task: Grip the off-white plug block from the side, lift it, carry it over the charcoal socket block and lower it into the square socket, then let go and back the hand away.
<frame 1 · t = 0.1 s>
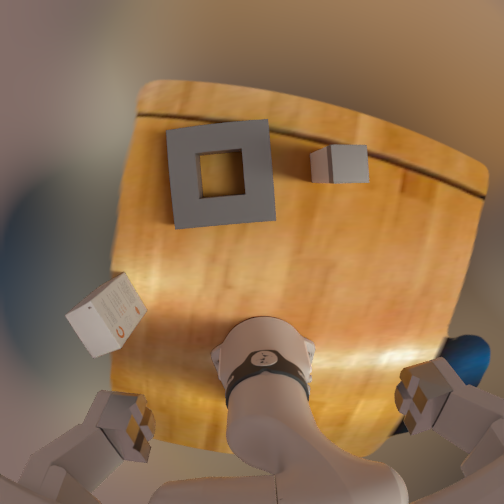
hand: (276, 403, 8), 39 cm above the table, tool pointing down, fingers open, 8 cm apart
plug: (325, 167, 44), on the table
socket block: (222, 174, 44), on the table
small box: (123, 297, 49), on the table
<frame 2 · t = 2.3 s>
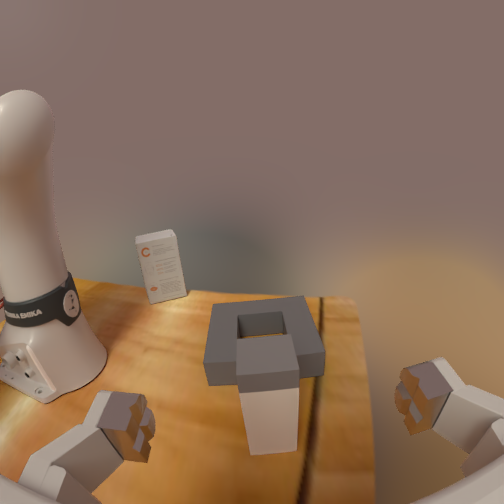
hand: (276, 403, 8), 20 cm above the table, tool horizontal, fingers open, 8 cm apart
plug: (272, 436, 26), on the table
socket block: (262, 347, 41), on the table
small box: (166, 295, 60), on the table
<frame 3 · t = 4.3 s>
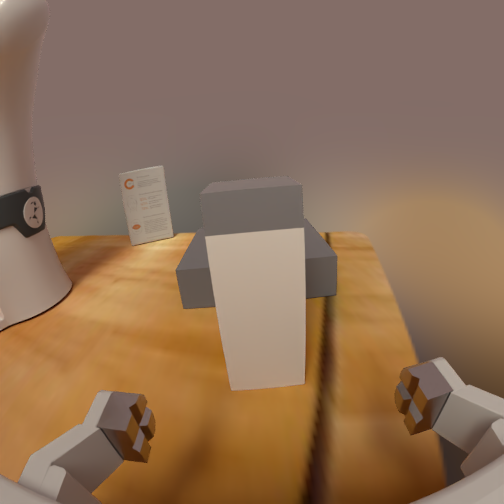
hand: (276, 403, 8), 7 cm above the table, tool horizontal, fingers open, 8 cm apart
plug: (265, 364, 19), on the table
socket block: (257, 271, 34), on the table
small box: (152, 238, 53), on the table
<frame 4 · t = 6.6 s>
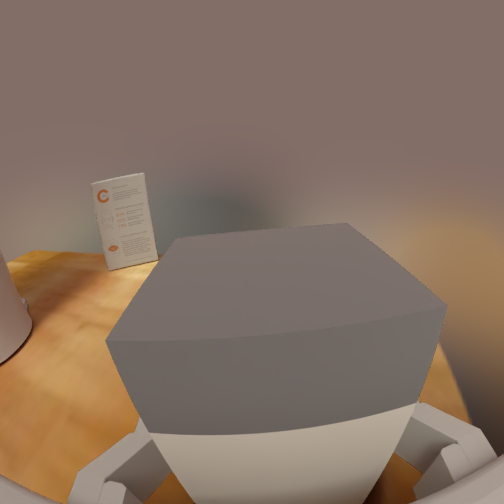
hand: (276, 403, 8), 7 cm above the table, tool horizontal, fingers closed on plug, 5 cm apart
plug: (281, 503, 9), on the table, touching gripper
small box: (133, 261, 44), on the table
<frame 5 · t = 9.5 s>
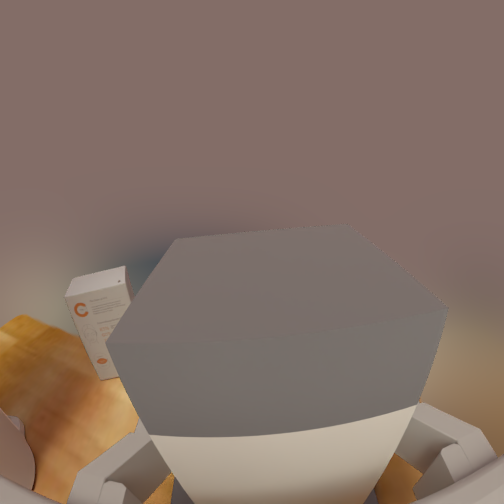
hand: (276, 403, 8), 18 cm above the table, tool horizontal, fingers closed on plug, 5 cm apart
socket block: (272, 499, 18), on the table
small box: (126, 363, 37), on the table
when the fingers open (8 cm above the table, at t = 12.4 s): plug drops 1 cm, resting in socket block.
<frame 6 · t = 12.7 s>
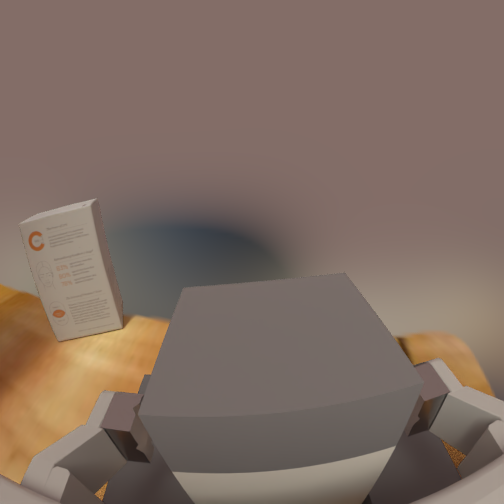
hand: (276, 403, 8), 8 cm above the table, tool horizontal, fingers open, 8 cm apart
small box: (92, 323, 29), on the table
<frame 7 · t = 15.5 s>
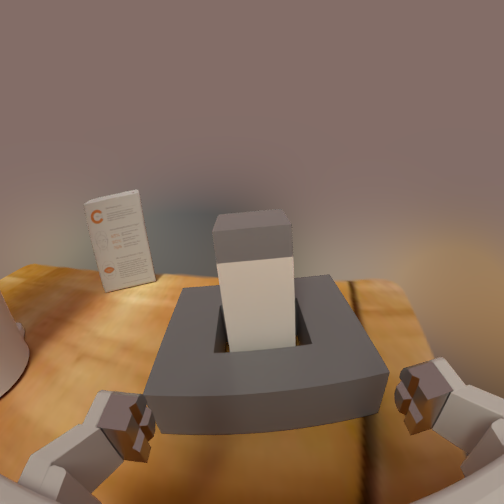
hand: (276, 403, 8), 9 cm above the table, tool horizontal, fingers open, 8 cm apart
plug: (263, 362, 23), resting in socket block
socket block: (263, 362, 23), on the table
small box: (130, 281, 42), on the table
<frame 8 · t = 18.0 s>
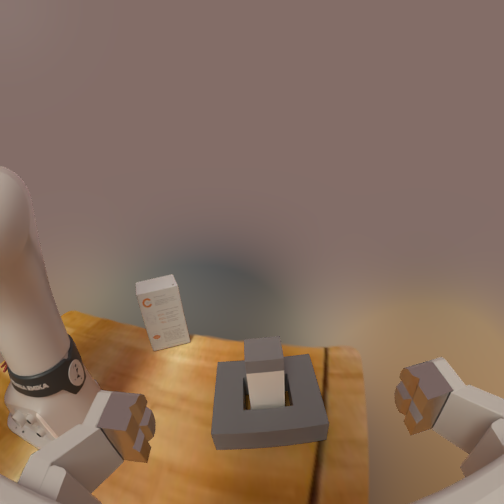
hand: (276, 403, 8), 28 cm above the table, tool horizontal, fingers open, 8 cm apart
plug: (267, 408, 39), resting in socket block
socket block: (268, 408, 39), on the table
small box: (169, 340, 58), on the table
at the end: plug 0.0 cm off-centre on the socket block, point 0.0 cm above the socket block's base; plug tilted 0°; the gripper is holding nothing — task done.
